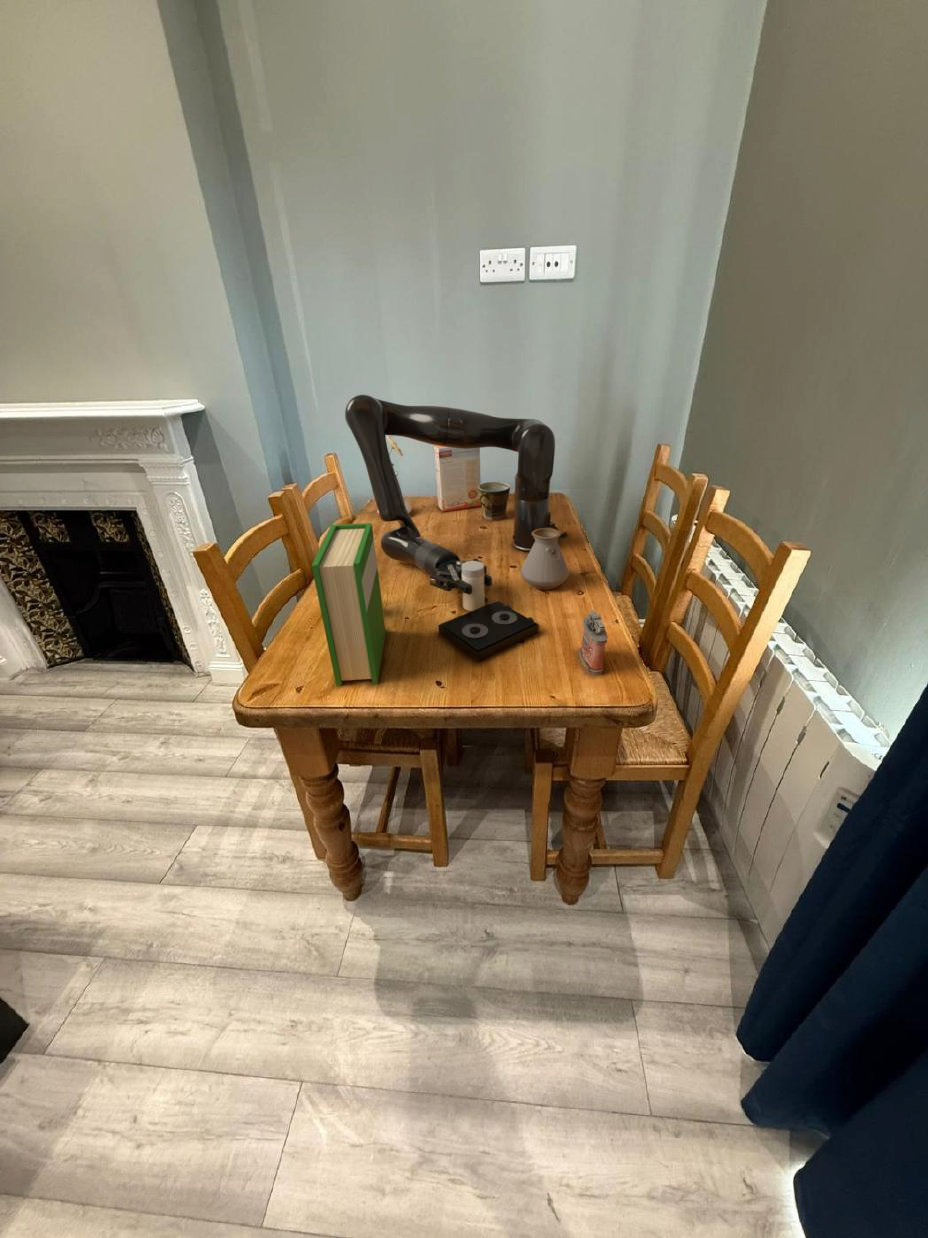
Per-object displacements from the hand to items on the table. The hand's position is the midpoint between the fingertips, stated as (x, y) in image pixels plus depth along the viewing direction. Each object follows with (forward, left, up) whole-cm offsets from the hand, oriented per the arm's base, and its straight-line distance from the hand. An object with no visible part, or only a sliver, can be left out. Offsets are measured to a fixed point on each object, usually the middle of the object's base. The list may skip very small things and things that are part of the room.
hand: (480, 586), depth 109 cm
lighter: (-4, +28, -6) cm, 29 cm away
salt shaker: (0, -3, -6) cm, 7 cm away
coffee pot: (-17, +3, -6) cm, 18 cm away
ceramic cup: (-39, -43, -6) cm, 58 cm away
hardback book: (+29, -1, -6) cm, 30 cm away
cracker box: (-38, -59, -6) cm, 71 cm away
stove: (+5, +8, -6) cm, 11 cm away
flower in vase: (-18, -68, -6) cm, 71 cm away
